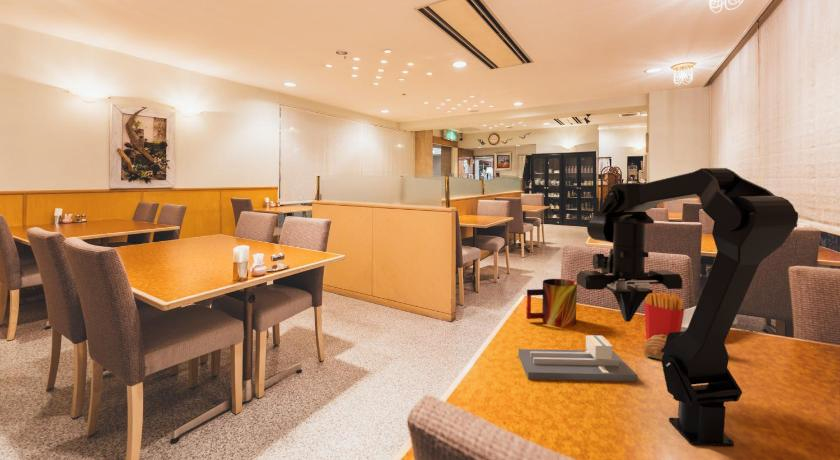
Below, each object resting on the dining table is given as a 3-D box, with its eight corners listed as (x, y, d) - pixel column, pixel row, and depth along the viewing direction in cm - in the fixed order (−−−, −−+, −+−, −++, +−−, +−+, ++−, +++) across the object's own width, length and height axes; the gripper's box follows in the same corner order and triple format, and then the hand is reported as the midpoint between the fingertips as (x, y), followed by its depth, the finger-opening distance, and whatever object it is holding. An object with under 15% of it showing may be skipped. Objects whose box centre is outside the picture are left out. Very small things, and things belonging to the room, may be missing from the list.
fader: (612, 366, 83) (612, 345, 83) (595, 366, 83) (595, 345, 83) (601, 354, 89) (601, 335, 89) (585, 354, 89) (586, 334, 89)
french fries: (684, 345, 98) (687, 295, 96) (676, 349, 95) (678, 297, 94) (646, 334, 105) (649, 287, 104) (638, 337, 103) (640, 290, 102)
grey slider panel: (636, 381, 80) (637, 369, 80) (528, 379, 82) (528, 366, 81) (612, 356, 92) (613, 345, 92) (518, 355, 94) (518, 344, 93)
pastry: (669, 365, 88) (670, 348, 87) (636, 356, 92) (637, 341, 92) (679, 352, 94) (679, 337, 94) (647, 345, 99) (648, 330, 99)
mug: (525, 322, 117) (525, 283, 116) (557, 314, 124) (557, 277, 123) (550, 331, 109) (551, 290, 107) (583, 323, 115) (584, 283, 114)
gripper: (654, 240, 86) (651, 309, 87) (568, 241, 87) (567, 310, 88) (686, 246, 75) (683, 325, 76) (587, 248, 76) (586, 326, 77)
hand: (627, 321), depth 79 cm, fingers closed
